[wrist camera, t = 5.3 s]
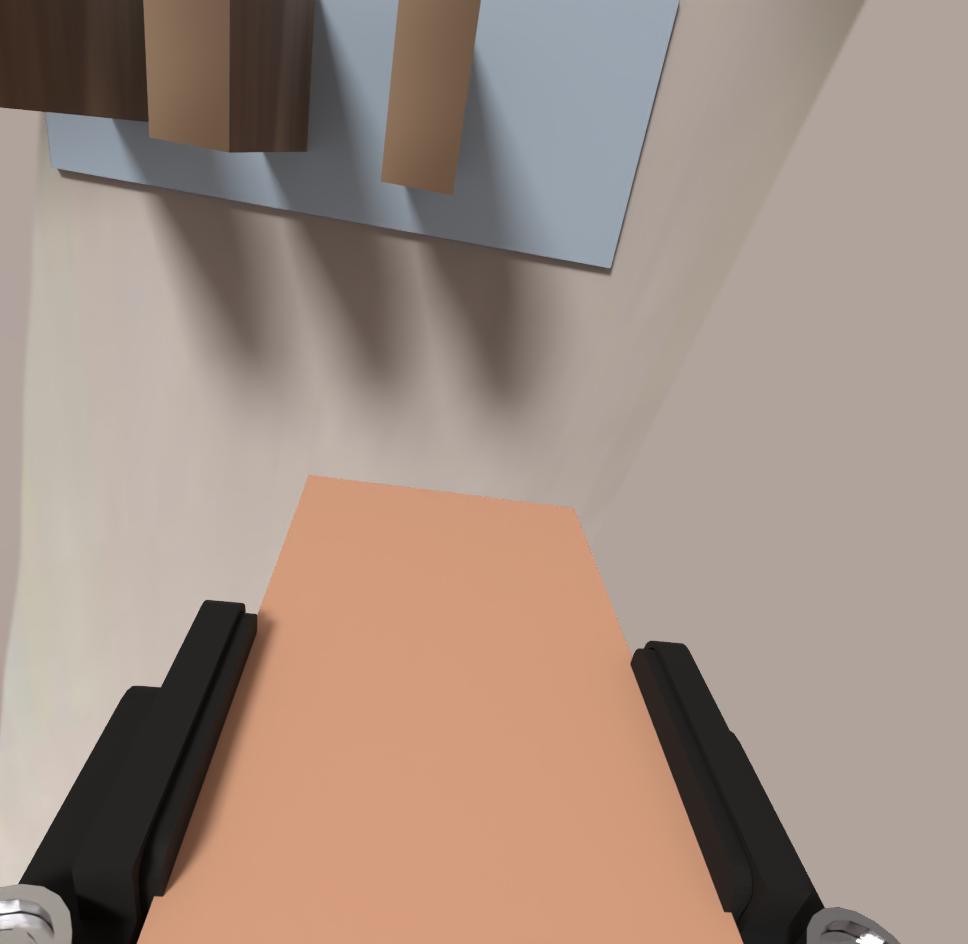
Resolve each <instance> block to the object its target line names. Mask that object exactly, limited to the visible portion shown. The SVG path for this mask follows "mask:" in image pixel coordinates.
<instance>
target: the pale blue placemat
mask: <svg viewBox="0 0 968 944" xmlns="http://www.w3.org/2000/svg"><path fill="white" fill-rule="evenodd" d="M398 1H399V0H315V5H314V24H313V43H312V63H311V82H310V101H309V121H308V140H307V152H245V153H228V152H223V151H218V150H213V149H207V148H202V147H197V146H192V145H186V144H181V143H176V142H171V141H165V140H160V139H155V138H150V137H149V122H141V121H131V120H122V119H112V118H102V117H92V116H82V115H72V114H62V113H52V112H46V120H47V130H48V139H49V149H50V158H51V168H57V169H62V170H68V171H73V172H79V173H84V174H90V175H96V176H101V177H107V178H112V179H118V180H123V181H129V182H134V183H140V184H145V185H151V186H157V187H162V188H168V189H173V190H179V191H184V192H190V193H195V194H201V195H206V196H212V197H218V198H223V199H229V200H234V201H240V202H245V203H251V204H256V205H262V206H268V207H273V208H279V209H284V210H290V211H295V212H301V213H306V214H312V215H317V216H323V217H329V218H334V219H340V220H345V221H351V222H356V223H362V224H367V225H373V226H378V227H384V228H390V229H395V230H401V231H406V232H412V233H417V234H423V235H428V236H434V237H439V238H445V239H451V240H456V241H462V242H467V243H473V244H478V245H484V246H489V247H495V248H500V249H506V250H512V251H517V252H523V253H528V254H534V255H539V256H545V257H550V258H556V259H561V260H567V261H573V262H578V263H584V264H589V265H595V266H600V267H606V268H611V265H612V261H613V257H614V253H615V249H616V245H617V242H618V238H619V234H620V230H621V226H622V222H623V218H624V214H625V210H626V207H627V203H628V199H629V195H630V191H631V187H632V183H633V179H634V175H635V171H636V168H637V164H638V160H639V156H640V152H641V148H642V144H643V140H644V136H645V133H646V129H647V125H648V121H649V117H650V113H651V109H652V105H653V101H654V97H655V94H656V90H657V86H658V82H659V78H660V74H661V70H662V66H663V62H664V59H665V55H666V51H667V47H668V43H669V39H670V35H671V31H672V27H673V24H674V20H675V16H676V12H677V8H678V4H679V0H481V4H480V11H479V18H478V25H477V31H476V38H475V45H474V52H473V59H472V66H471V73H470V80H469V86H468V93H467V100H466V107H465V114H464V121H463V128H462V135H461V142H460V148H459V155H458V162H457V169H456V176H455V183H454V190H453V195H449V194H443V193H438V192H433V191H428V190H422V189H417V188H412V187H407V186H401V185H396V184H391V183H386V182H381V173H382V163H383V153H384V143H385V133H386V123H387V113H388V102H389V92H390V82H391V72H392V62H393V52H394V42H395V32H396V22H397V12H398Z"/></svg>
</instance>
